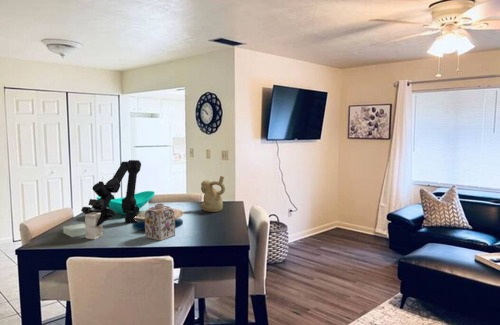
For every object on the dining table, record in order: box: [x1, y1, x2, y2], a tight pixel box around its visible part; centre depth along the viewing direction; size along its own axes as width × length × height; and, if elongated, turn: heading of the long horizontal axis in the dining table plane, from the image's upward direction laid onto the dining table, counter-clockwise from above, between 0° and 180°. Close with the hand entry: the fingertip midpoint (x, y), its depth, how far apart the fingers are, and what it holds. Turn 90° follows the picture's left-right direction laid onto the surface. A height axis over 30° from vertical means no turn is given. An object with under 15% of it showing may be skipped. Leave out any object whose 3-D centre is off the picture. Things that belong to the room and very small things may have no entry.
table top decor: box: [96, 190, 156, 215], centre depth 256 cm, size 40×28×13 cm
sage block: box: [62, 222, 86, 238], centre depth 208 cm, size 12×12×4 cm
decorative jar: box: [144, 202, 176, 242], centre depth 199 cm, size 12×12×18 cm
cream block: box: [84, 212, 104, 240], centre depth 198 cm, size 6×6×13 cm
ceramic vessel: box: [200, 175, 226, 213], centre depth 262 cm, size 17×20×25 cm
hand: (91, 225), depth 197 cm, fingers closed on cream block, 7 cm apart
